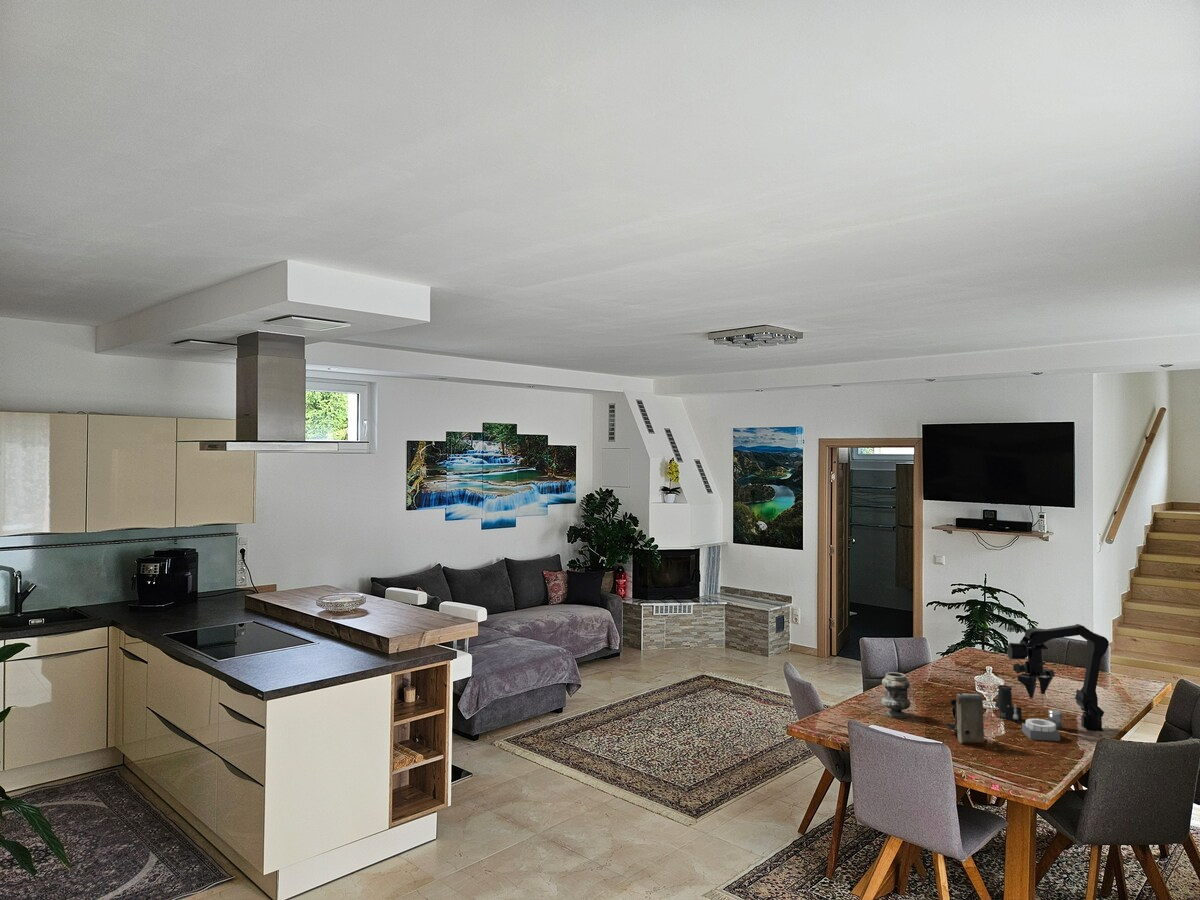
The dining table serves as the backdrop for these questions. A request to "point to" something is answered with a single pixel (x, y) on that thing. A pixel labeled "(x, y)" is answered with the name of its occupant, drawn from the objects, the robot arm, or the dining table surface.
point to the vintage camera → (968, 718)
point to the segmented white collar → (1040, 730)
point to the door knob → (1055, 718)
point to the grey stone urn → (896, 694)
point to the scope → (1007, 704)
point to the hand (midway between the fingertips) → (1037, 695)
